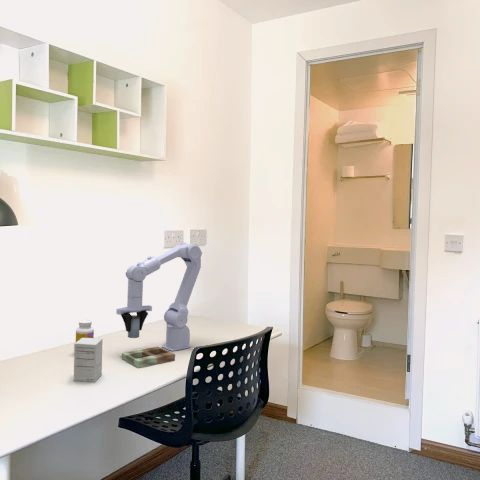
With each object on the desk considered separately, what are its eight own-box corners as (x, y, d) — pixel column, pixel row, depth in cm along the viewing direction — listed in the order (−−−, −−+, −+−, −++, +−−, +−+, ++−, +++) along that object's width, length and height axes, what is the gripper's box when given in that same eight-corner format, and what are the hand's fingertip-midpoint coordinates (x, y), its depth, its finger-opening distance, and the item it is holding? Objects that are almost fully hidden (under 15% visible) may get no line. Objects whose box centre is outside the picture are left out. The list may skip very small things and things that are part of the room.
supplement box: (80, 373, 163) (81, 337, 162) (102, 374, 163) (103, 338, 162) (72, 381, 156) (73, 343, 155) (95, 382, 155) (96, 344, 155)
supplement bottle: (87, 357, 180) (88, 324, 180) (71, 355, 182) (72, 322, 181) (96, 352, 187) (97, 320, 186) (80, 350, 188) (81, 318, 188)
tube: (135, 334, 190) (136, 314, 190) (141, 337, 187) (142, 317, 186) (125, 336, 187) (126, 316, 187) (131, 338, 184) (131, 318, 183)
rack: (157, 352, 191) (157, 346, 190) (174, 360, 182) (175, 353, 182) (121, 359, 180) (121, 353, 180) (138, 368, 171) (138, 361, 171)
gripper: (146, 293, 194) (144, 326, 194) (113, 296, 184) (112, 330, 185) (155, 296, 188) (153, 329, 189) (121, 299, 179) (120, 334, 180)
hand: (133, 330), depth 187 cm, fingers closed on tube, 4 cm apart
